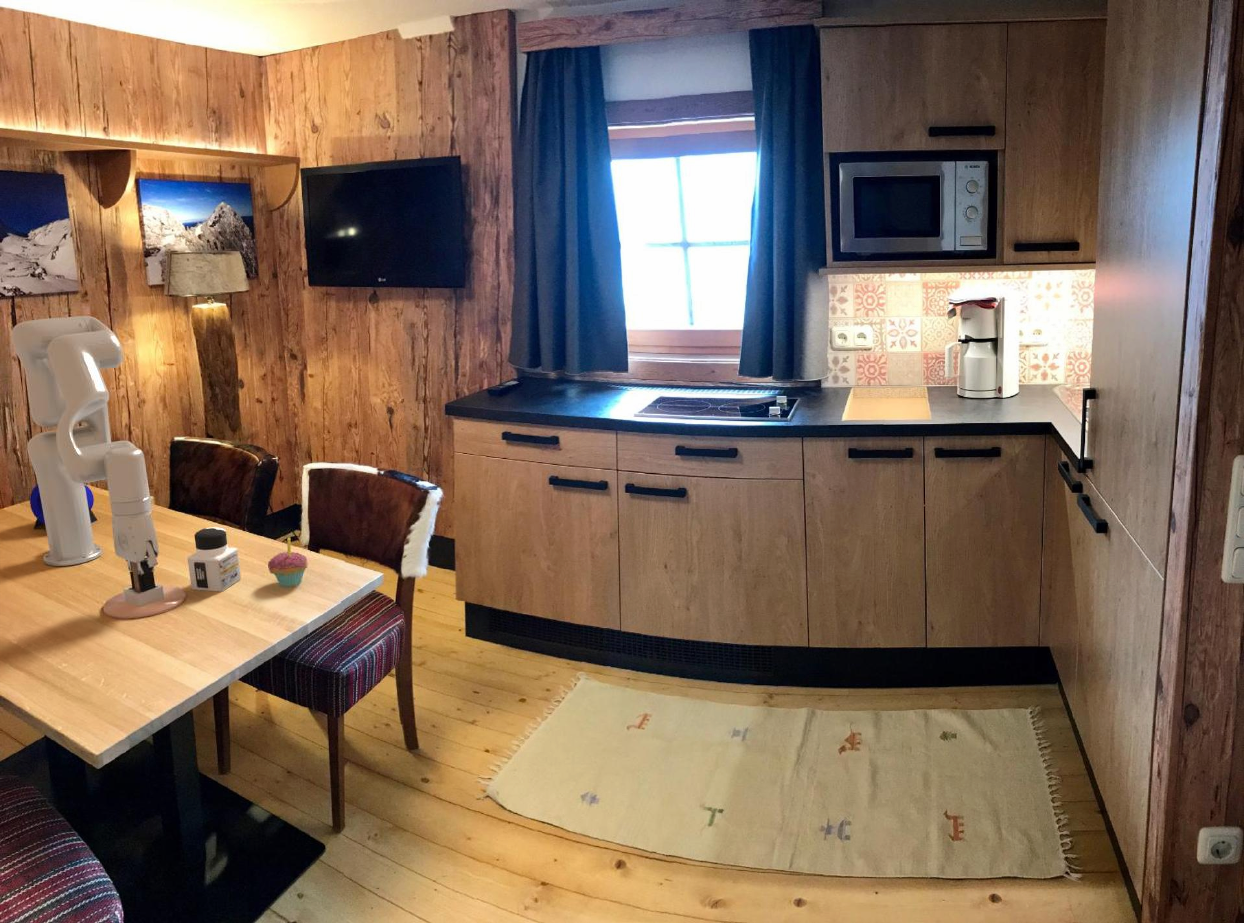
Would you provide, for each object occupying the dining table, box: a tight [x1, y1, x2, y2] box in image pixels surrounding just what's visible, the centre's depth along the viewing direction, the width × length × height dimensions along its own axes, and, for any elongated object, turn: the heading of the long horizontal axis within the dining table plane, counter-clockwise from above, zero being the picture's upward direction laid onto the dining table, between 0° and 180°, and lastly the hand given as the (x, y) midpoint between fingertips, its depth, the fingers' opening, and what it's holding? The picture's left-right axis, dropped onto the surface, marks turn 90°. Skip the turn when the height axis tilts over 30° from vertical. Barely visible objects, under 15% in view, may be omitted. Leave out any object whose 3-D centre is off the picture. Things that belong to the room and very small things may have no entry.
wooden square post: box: [131, 561, 148, 593], centre depth 211 cm, size 3×3×9 cm
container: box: [187, 526, 242, 593], centre depth 221 cm, size 8×8×13 cm
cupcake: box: [267, 534, 309, 588], centre depth 221 cm, size 9×8×12 cm
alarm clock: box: [29, 483, 98, 530], centre depth 264 cm, size 12×12×15 cm
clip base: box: [103, 583, 186, 620], centre depth 212 cm, size 16×16×4 cm
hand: (144, 587), depth 211 cm, fingers closed on wooden square post, 2 cm apart
